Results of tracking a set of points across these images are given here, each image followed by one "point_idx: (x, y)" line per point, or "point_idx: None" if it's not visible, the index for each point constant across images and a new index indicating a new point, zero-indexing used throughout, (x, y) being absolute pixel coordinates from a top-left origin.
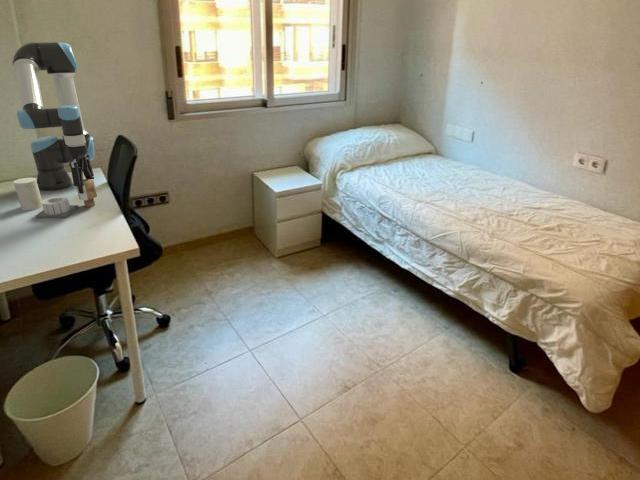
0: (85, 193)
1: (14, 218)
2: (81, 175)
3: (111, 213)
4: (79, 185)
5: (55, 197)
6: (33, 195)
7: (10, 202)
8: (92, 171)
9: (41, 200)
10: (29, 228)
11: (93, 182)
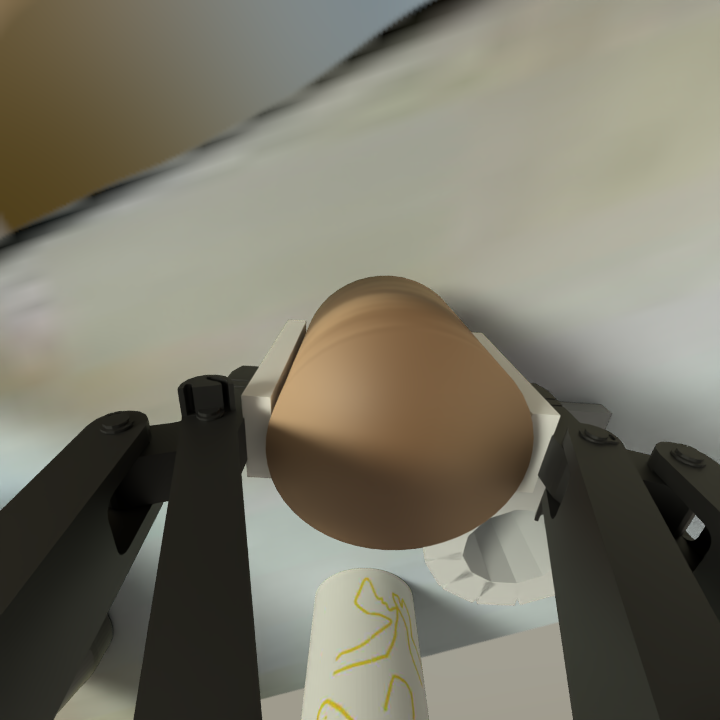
0: (509, 363)
1: (515, 611)
2: (690, 583)
3: (637, 50)
4: (699, 458)
5: (446, 562)
6: (406, 669)
7: (295, 678)
8: (52, 477)
9: (354, 602)
10: (695, 520)
11: (397, 326)
